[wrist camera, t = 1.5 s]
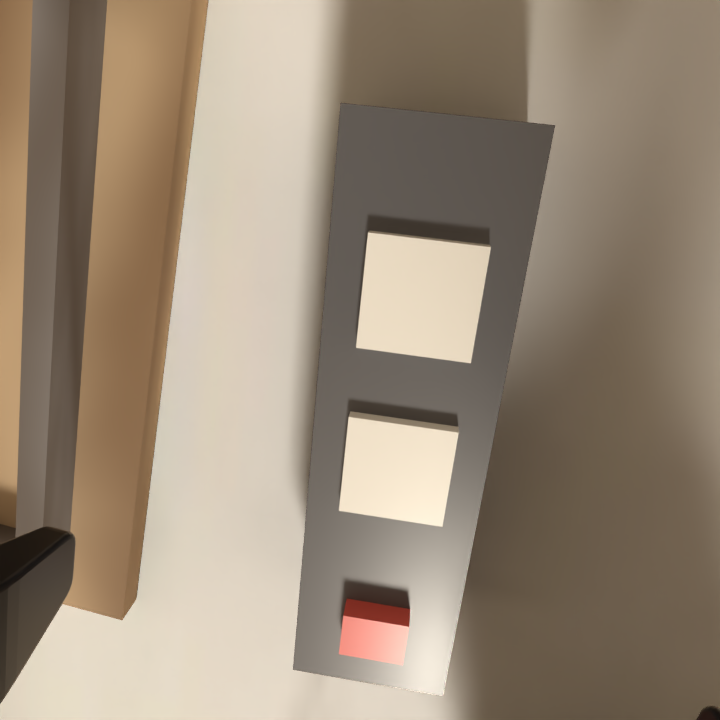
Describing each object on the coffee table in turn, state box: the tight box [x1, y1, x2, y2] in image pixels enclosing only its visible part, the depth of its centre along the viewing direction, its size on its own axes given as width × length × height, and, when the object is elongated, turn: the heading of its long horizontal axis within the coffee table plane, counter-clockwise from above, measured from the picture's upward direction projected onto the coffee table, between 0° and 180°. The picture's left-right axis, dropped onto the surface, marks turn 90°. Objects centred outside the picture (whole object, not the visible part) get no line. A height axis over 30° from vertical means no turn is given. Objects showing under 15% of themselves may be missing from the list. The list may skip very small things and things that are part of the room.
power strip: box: [293, 103, 555, 696], centre depth 15 cm, size 4×14×5 cm, turn 174°
